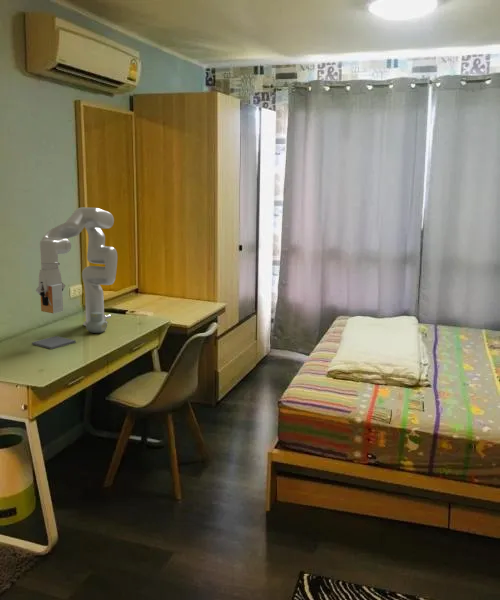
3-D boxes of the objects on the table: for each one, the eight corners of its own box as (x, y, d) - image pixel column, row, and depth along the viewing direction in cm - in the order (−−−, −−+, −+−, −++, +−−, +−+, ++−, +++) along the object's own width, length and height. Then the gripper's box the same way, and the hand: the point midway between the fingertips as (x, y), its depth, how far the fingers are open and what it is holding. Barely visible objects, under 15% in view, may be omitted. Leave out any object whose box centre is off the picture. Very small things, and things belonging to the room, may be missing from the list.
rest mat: (56, 337, 293) (56, 335, 292) (75, 342, 285) (75, 340, 285) (32, 344, 281) (32, 342, 281) (51, 349, 274) (51, 347, 273)
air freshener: (99, 335, 299) (99, 315, 297) (84, 333, 301) (83, 314, 299) (109, 329, 310) (108, 310, 308) (94, 328, 311) (93, 310, 309)
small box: (41, 311, 279) (39, 284, 276) (51, 309, 285) (50, 282, 282) (53, 313, 275) (51, 286, 273) (63, 311, 281) (62, 284, 278)
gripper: (59, 263, 285) (61, 300, 288) (28, 267, 270) (31, 306, 274) (70, 264, 281) (71, 301, 284) (39, 269, 266) (41, 308, 270)
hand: (51, 303), depth 279 cm, fingers closed on small box, 6 cm apart
